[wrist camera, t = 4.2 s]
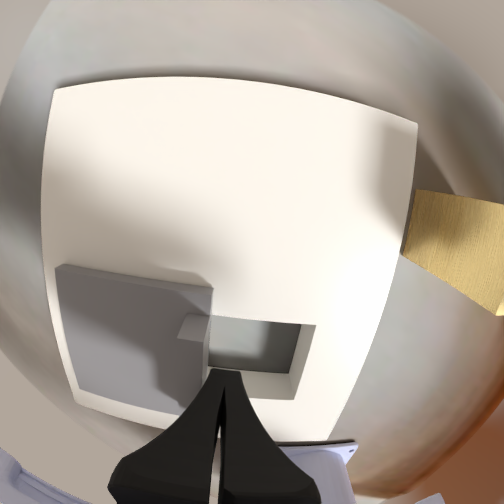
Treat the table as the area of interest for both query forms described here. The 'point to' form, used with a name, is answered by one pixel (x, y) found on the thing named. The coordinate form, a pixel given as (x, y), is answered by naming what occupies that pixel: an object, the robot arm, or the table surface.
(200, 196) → the socket base
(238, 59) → the table surface
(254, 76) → the table surface
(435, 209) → the peg
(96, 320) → the panel
